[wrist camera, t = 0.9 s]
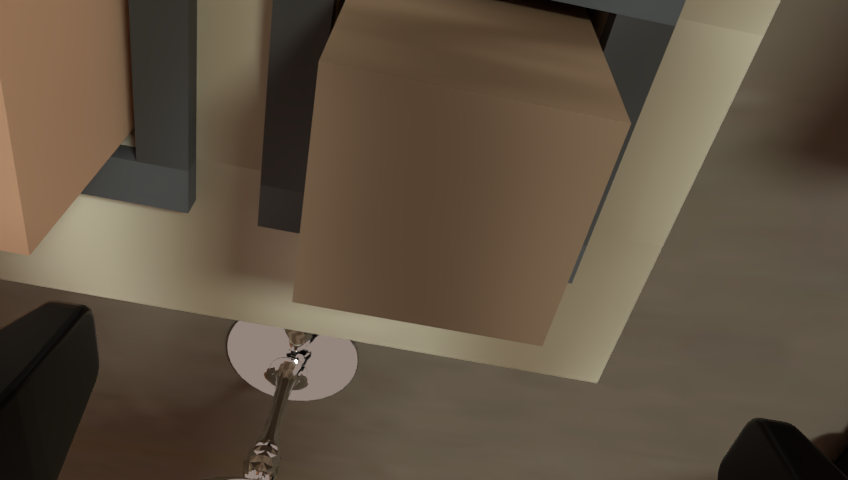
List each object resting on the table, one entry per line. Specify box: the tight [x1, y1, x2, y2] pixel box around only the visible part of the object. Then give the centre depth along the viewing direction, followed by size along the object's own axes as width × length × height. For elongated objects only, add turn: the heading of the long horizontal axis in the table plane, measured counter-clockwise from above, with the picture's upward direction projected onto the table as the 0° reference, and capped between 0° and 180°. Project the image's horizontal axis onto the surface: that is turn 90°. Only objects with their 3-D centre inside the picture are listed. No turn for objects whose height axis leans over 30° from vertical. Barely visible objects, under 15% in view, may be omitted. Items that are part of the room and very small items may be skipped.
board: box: [0, 0, 781, 383], centre depth 15 cm, size 18×13×6 cm
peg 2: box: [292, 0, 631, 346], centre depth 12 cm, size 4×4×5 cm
